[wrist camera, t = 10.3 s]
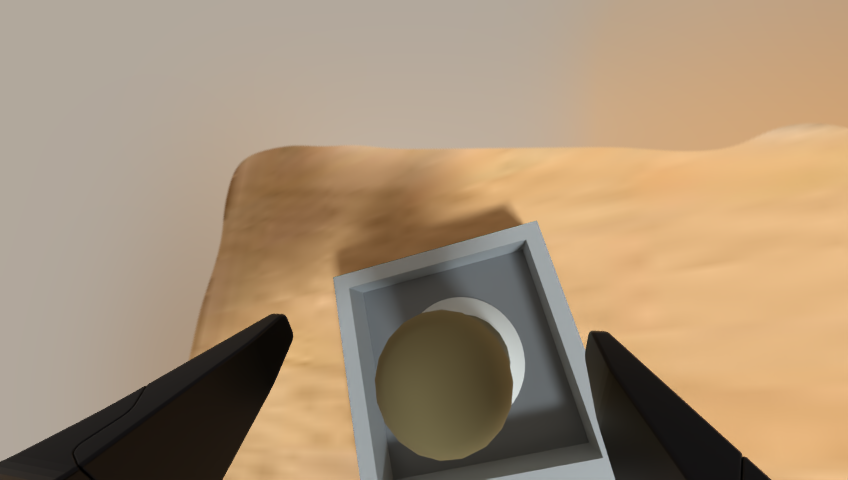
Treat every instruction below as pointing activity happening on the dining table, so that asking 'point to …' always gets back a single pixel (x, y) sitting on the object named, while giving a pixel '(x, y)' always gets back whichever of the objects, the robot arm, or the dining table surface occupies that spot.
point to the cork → (444, 384)
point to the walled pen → (527, 346)
